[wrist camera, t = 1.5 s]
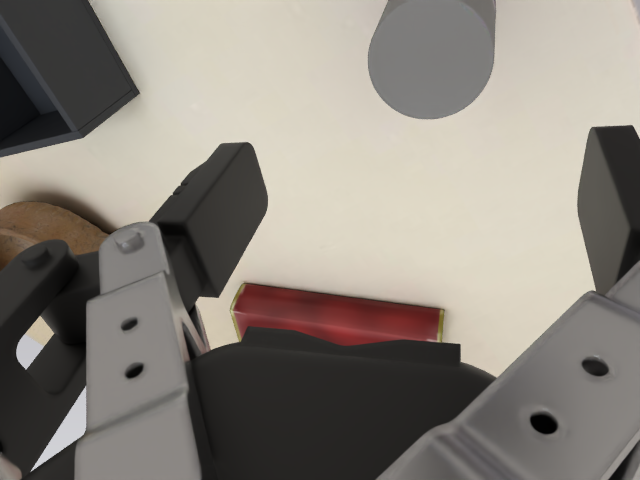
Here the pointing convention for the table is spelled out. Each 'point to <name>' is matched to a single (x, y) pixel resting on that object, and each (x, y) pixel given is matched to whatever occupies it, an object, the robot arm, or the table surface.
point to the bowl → (44, 229)
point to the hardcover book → (333, 316)
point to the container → (432, 55)
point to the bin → (55, 74)
